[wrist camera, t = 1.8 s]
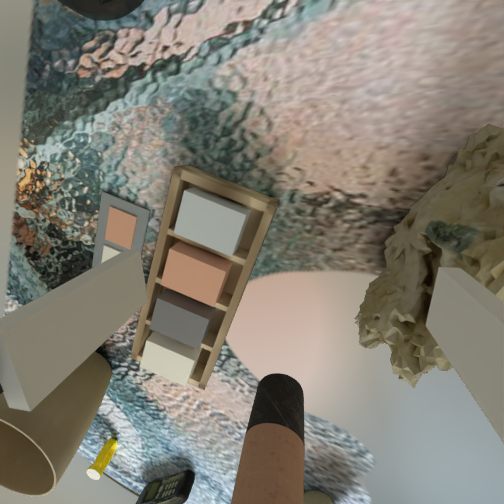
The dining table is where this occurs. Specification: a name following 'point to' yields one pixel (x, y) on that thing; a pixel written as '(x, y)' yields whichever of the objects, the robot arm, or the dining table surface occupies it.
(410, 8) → the dining table surface
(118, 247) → the card
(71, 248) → the dining table surface
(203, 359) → the wooden compartment tray
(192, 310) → the grey rectangular block
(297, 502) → the travel mug
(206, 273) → the key terracotta
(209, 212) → the key bluegrey
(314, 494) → the flower pot
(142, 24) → the dining table surface
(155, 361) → the cream rectangular block
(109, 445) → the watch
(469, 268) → the coral
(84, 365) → the plant pot
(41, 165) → the dining table surface
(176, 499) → the mobile phone
